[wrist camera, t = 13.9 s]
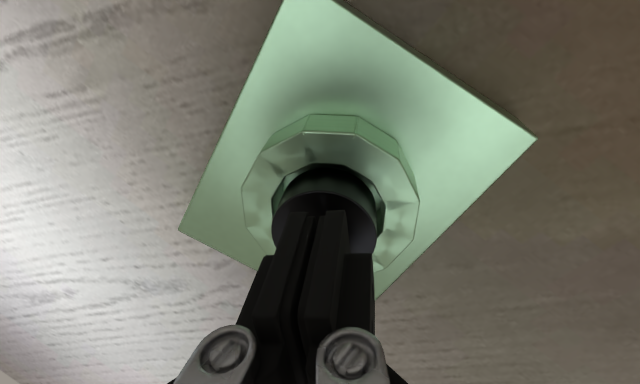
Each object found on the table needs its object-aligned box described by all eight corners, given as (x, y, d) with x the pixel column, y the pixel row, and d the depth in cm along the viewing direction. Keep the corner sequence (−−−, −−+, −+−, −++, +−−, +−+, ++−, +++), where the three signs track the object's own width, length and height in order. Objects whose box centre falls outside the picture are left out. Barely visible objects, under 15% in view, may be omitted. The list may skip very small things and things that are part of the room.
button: (310, 148, 12) (302, 171, 11) (396, 199, 13) (399, 226, 11) (266, 219, 14) (253, 246, 13) (343, 260, 15) (340, 292, 13)
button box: (305, -25, 13) (281, -30, 10) (518, 118, 14) (563, 160, 11) (196, 205, 19) (156, 255, 15) (356, 290, 20) (352, 352, 17)
